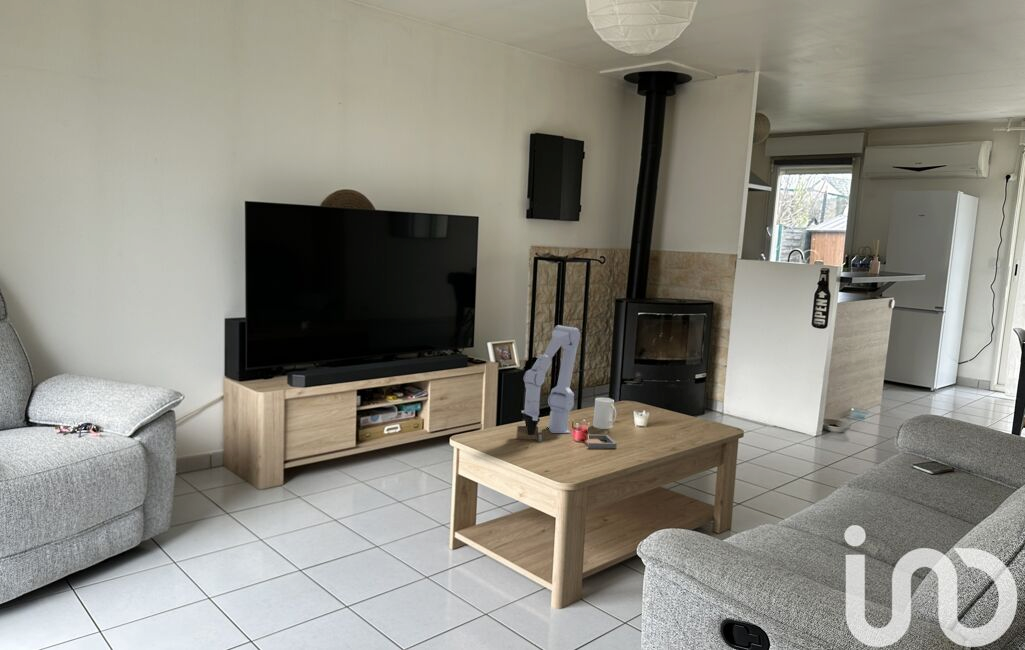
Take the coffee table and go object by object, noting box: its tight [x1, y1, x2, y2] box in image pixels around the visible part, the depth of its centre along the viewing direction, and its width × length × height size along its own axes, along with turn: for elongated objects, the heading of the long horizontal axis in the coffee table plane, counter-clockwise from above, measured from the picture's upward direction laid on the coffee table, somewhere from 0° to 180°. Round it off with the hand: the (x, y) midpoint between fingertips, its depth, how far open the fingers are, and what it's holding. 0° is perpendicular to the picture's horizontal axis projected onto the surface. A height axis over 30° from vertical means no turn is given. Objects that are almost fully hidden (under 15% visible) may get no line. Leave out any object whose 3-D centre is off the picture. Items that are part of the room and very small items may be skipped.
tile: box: [584, 439, 603, 447], centre depth 283 cm, size 6×6×2 cm
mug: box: [592, 397, 617, 430], centre depth 308 cm, size 12×8×12 cm
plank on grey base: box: [516, 425, 543, 443], centre depth 283 cm, size 8×9×5 cm
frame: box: [588, 434, 618, 449], centre depth 283 cm, size 12×11×2 cm
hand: (530, 433), depth 284 cm, fingers closed on plank on grey base, 2 cm apart
